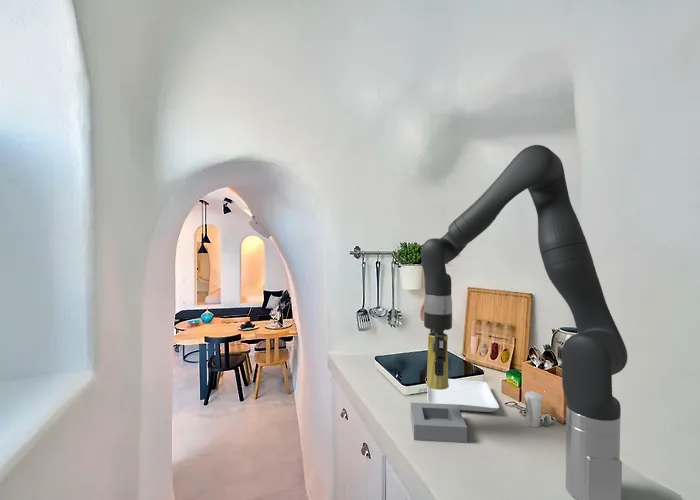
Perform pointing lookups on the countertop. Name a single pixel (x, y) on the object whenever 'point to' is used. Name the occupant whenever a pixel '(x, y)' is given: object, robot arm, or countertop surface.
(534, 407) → the milkshake
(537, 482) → the countertop surface
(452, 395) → the salad plate
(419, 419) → the block
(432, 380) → the vase
